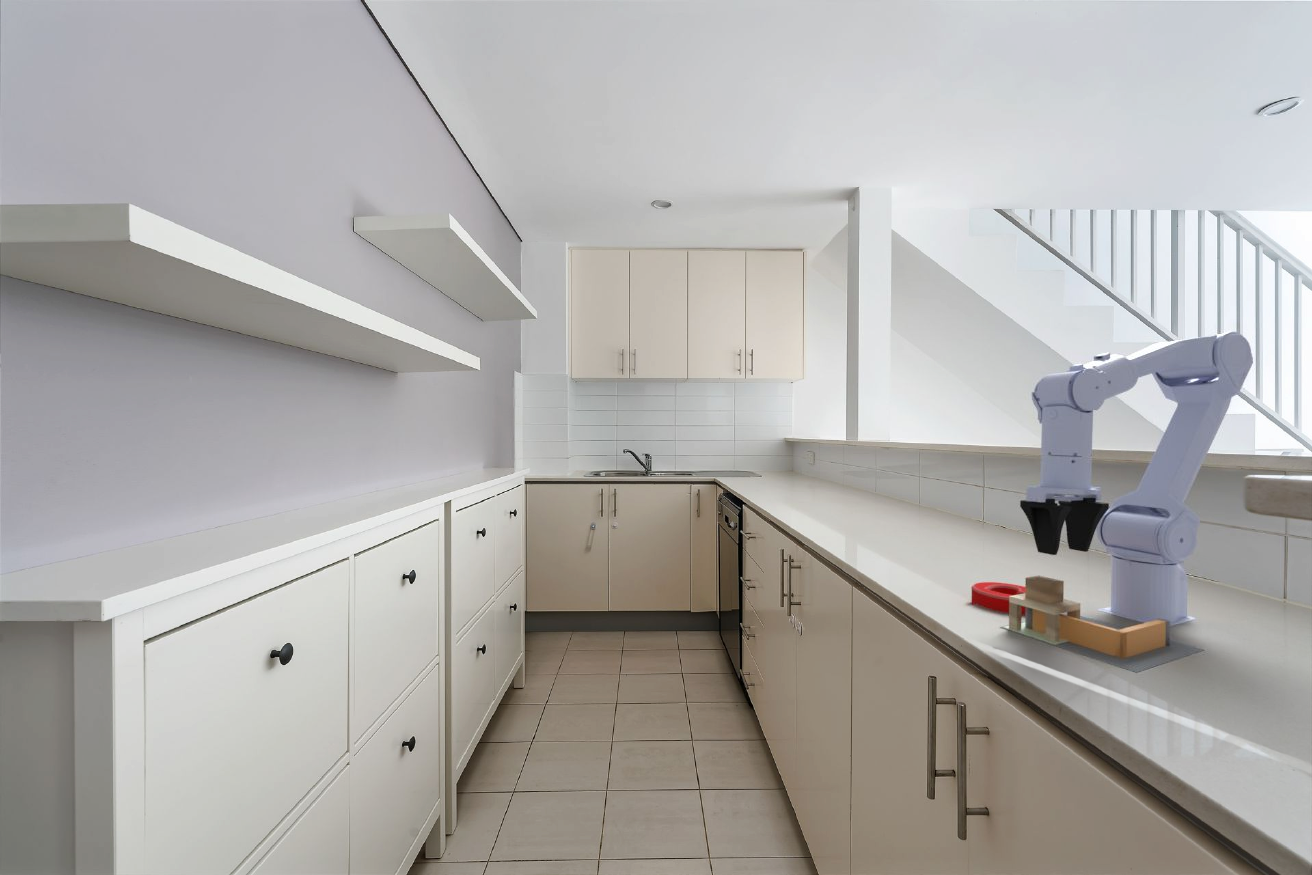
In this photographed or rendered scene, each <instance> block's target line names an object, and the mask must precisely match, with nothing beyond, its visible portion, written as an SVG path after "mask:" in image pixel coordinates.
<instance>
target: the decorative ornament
mask: <svg viewBox="0 0 1312 875" xmlns="http://www.w3.org/2000/svg"><path fill="white" fill-rule="evenodd" d="M1024 593H1025V586H1023V585H1017V584H1013V583H1007V582H1006V583H1005V582H994V581H992V582H991V581H984V582H983V581H982V582H976V583H974V584H973V585H972V586H971V605H972V606H973V605H974V606H976V605H977V606H979V607H982V608H984V609H985V608H986V609H988V610H991V611H995V612H1001V613H1004V614H1009V596H1013V595H1019V594H1024ZM1025 609H1026V607H1025V606H1022V608H1021V616H1022V615H1023V616H1025Z"/></svg>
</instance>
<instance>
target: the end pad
mask: <svg viewBox="0 0 1312 875" xmlns="http://www.w3.org/2000/svg"><path fill="white" fill-rule="evenodd" d="M1022 622H1023V623H1021V630H1014V629H1011V628H1009V626H1007V625H1004V626H1005V627H1003V626H1002V627H1003V628H1006V629H1009V630H1012V631H1015V632H1018V633H1021V634H1024V635H1027V636H1030V637H1033V638H1036V639H1039V640H1042V641H1045V642H1048V643H1051V644H1054V645H1056V644H1060V643H1064V642H1068V640H1065V639H1061V638H1059V642H1056V643H1054V642H1051V641H1048V640H1046V633H1042V632H1039V631H1036V630H1033V629H1028V628H1026V627H1025V621H1022ZM1039 640H1038V641H1039ZM1042 641H1041V642H1042ZM1045 642H1044V643H1045ZM1048 643H1047V644H1048ZM1051 644H1050V645H1051ZM1054 645H1053V646H1054Z"/></svg>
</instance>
